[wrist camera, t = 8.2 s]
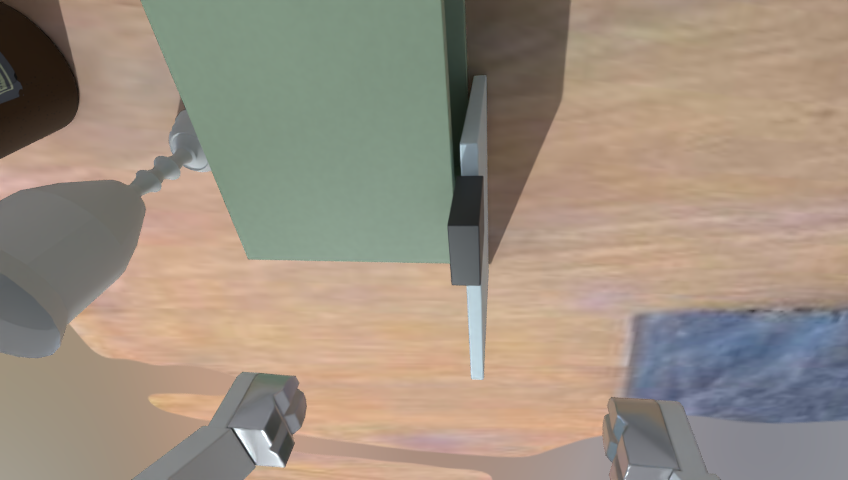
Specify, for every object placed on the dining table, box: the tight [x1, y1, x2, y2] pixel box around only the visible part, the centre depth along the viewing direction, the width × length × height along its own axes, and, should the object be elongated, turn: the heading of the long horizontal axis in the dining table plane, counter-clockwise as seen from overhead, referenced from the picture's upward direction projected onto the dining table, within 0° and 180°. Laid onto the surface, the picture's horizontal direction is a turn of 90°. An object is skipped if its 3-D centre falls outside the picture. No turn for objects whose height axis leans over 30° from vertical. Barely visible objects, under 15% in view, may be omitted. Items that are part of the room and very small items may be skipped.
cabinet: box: [141, 0, 468, 263], centre depth 23 cm, size 12×16×11 cm
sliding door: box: [447, 75, 489, 380], centre depth 25 cm, size 1×16×15 cm, turn 6°
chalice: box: [0, 109, 211, 358], centre depth 26 cm, size 7×7×18 cm
